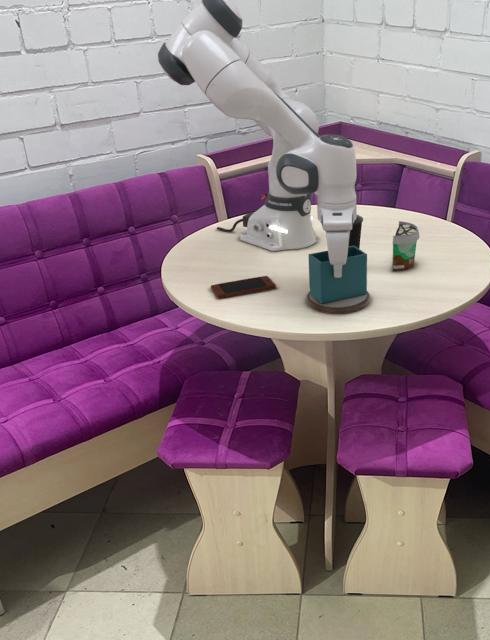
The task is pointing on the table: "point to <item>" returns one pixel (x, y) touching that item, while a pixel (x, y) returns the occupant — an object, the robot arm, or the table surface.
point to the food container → (404, 246)
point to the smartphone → (242, 286)
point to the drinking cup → (356, 232)
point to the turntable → (340, 304)
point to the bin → (334, 288)
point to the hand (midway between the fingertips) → (337, 268)
